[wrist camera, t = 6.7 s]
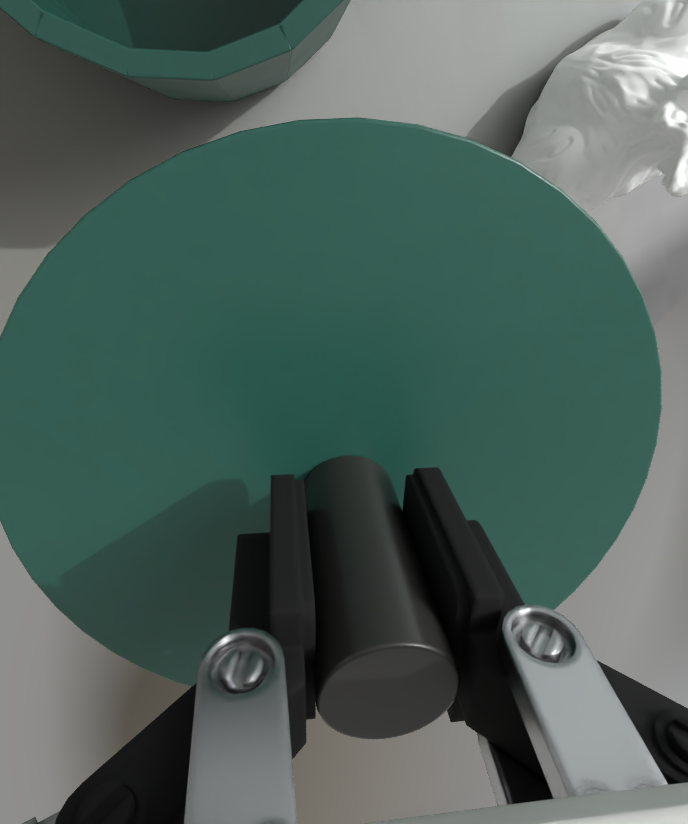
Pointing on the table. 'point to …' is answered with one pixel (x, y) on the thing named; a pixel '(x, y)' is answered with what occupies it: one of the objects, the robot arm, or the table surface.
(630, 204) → the table surface
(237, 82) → the pot
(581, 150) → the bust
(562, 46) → the table surface
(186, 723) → the robot arm
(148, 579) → the lid
